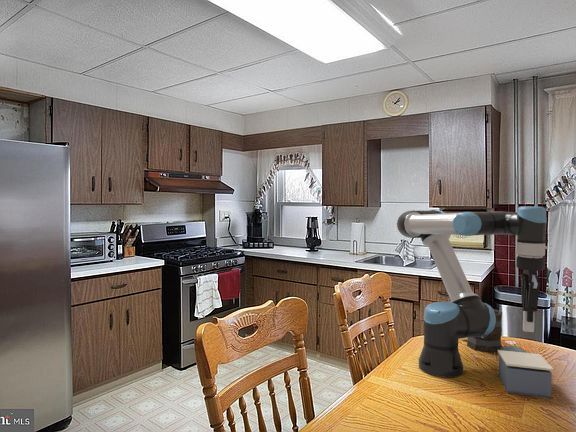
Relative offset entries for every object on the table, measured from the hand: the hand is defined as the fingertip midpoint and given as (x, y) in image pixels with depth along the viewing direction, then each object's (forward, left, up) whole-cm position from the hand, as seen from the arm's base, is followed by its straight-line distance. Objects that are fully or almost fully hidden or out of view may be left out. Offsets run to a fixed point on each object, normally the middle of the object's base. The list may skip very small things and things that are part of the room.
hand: (528, 331), depth 123 cm
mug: (-9, +42, -20) cm, 47 cm away
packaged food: (+4, +28, -21) cm, 35 cm away
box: (0, +6, -20) cm, 21 cm away
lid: (0, +6, -12) cm, 13 cm away
